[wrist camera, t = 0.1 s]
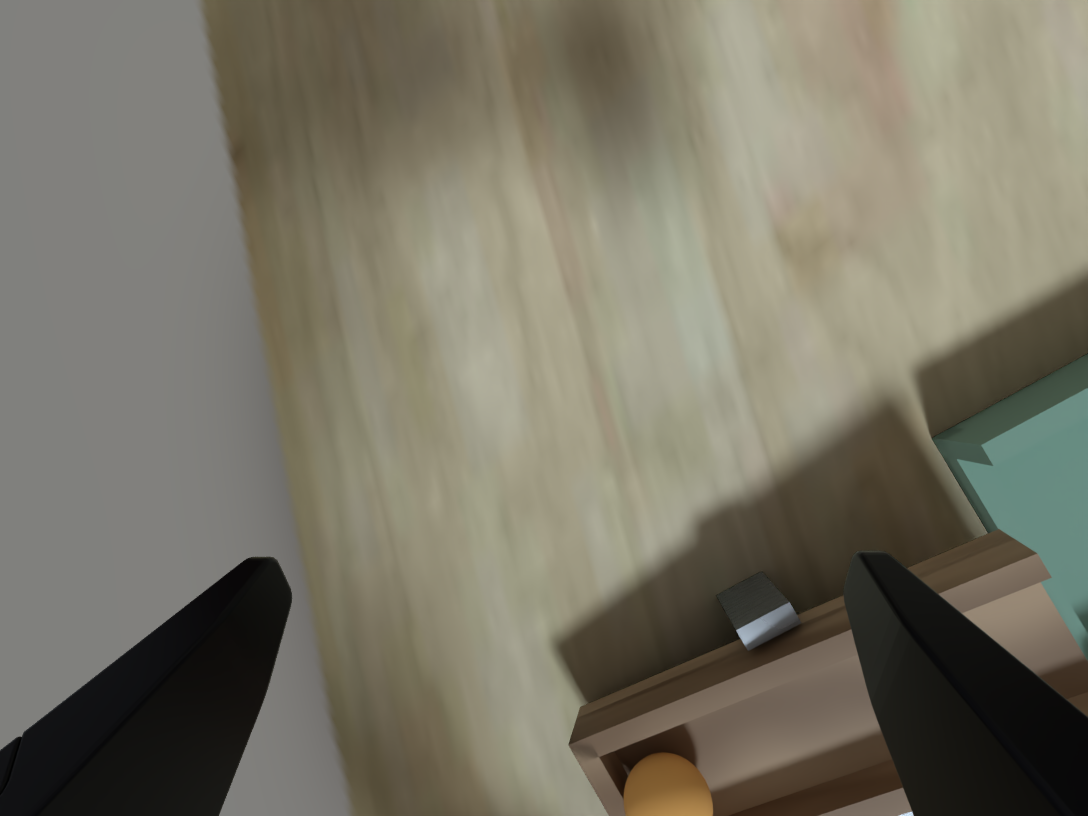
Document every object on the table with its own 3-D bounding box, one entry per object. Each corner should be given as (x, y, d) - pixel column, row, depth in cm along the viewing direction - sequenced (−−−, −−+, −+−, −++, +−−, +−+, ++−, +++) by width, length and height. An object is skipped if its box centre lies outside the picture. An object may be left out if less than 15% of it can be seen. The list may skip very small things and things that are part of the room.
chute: (1211, 850, 19) (1278, 917, 17) (735, 977, 24) (740, 1044, 21) (1015, 522, 20) (1055, 545, 17) (580, 707, 24) (568, 745, 22)
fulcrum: (870, 755, 24) (916, 818, 20) (823, 778, 24) (861, 845, 20) (761, 571, 24) (789, 602, 20) (716, 595, 24) (735, 630, 20)
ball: (725, 794, 22) (734, 862, 19) (652, 823, 23) (650, 893, 20) (683, 721, 22) (685, 777, 19) (611, 752, 23) (603, 811, 20)
